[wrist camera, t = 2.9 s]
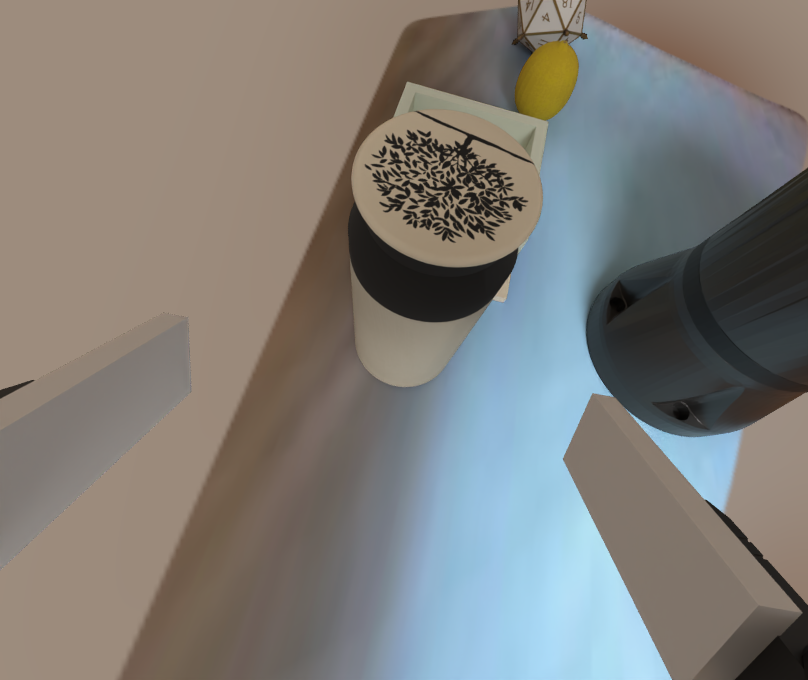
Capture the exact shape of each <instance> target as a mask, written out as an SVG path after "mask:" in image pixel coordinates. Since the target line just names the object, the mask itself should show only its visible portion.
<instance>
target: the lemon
mask: <svg viewBox="0 0 808 680" xmlns="http://www.w3.org/2000/svg"><path fill="white" fill-rule="evenodd" d="M578 68H579V64H578V59H577V55H576V53H575V51H574V50H573V48H572V47H571V46H570V45H568V42H567V41H565V40H562V41H552V42H548V43H546V44H544V45H542V46H540V47H539V48H537V49H536V50H535V51H534V52H533V54H532V55H531V56H530V57H529V58H528V60H527V61H526V63H525V64H524V66H523V68H522V70H521V72H520V75H519V77H518V80H517V83H516V88H515V104H516V107H517V110H518V111H519V113H520V114H523V115H526V116H530V117H534V118H537V119H541V120H544V121H546V120H548V119H550V118H552V117H554V116H555V115H556V114H557V113H558V112H559V111H560V110H561V109H562V108H563V107H564V106H565V104H566V103H567V101H568V100H569V98H570V96H571V94H572V92H573V89H574V87H575V84H576V81H577V76H578Z"/></svg>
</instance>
